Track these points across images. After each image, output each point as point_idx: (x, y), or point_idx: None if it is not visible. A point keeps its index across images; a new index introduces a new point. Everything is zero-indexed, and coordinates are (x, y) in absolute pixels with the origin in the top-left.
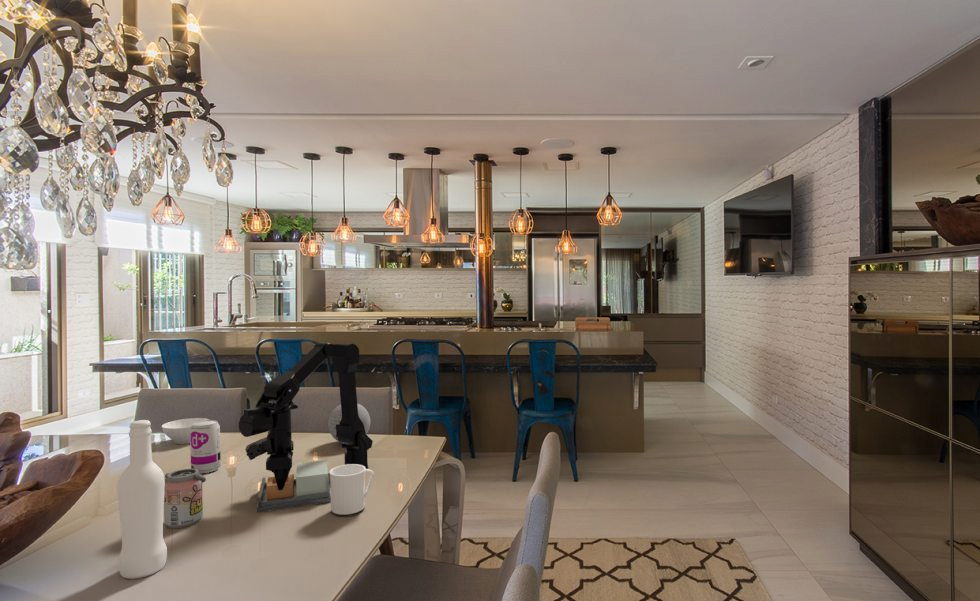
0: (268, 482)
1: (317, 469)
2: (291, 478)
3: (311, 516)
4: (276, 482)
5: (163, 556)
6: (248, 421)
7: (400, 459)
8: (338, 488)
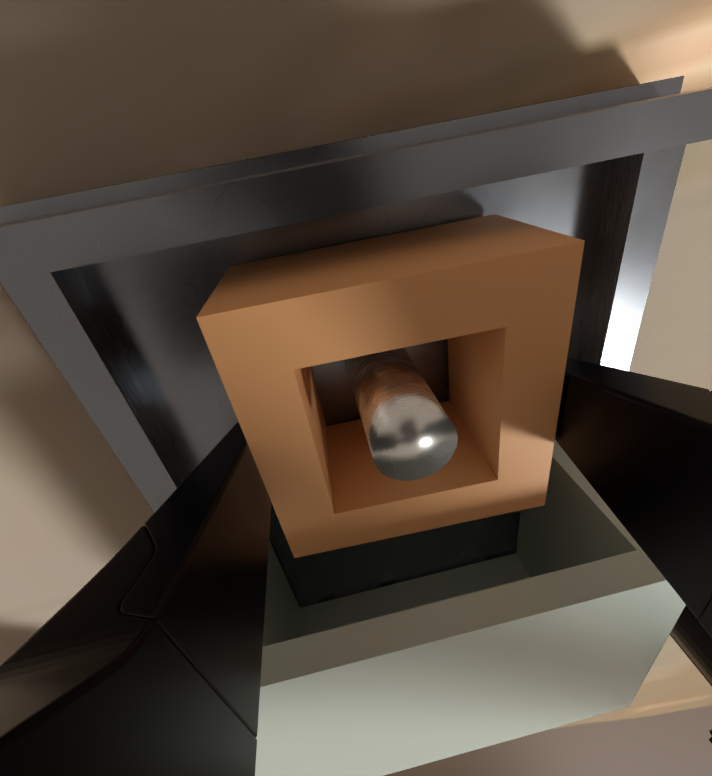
0: (358, 305)
1: (409, 738)
2: (428, 515)
3: (23, 592)
4: (179, 487)
5: None
6: None
7: (669, 668)
8: None
